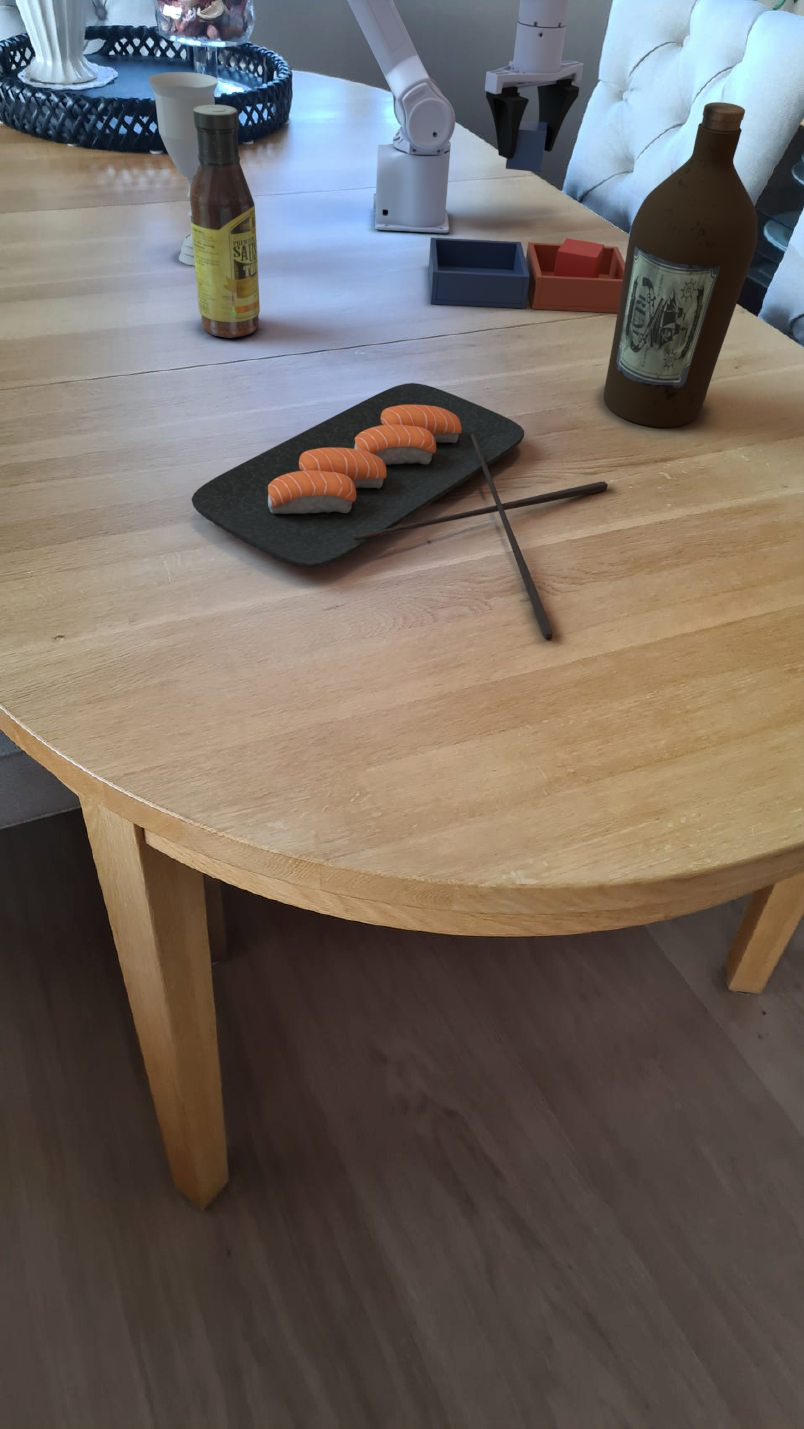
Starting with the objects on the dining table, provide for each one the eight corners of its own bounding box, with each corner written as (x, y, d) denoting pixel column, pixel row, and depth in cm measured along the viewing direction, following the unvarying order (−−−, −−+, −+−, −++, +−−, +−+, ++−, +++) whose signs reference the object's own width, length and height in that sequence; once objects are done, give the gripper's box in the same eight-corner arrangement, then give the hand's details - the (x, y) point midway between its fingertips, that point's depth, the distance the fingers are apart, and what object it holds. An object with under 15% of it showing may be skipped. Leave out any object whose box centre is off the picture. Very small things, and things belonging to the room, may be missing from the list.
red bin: (532, 309, 108) (537, 277, 106) (523, 273, 116) (528, 242, 113) (626, 313, 108) (633, 282, 106) (612, 277, 116) (618, 246, 114)
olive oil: (618, 369, 98) (681, 83, 80) (720, 398, 95) (808, 105, 77) (579, 411, 91) (638, 108, 74) (687, 443, 88) (775, 134, 70)
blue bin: (430, 304, 108) (432, 272, 105) (428, 268, 115) (430, 237, 113) (525, 308, 108) (529, 276, 106) (517, 272, 116) (521, 242, 113)
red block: (551, 291, 111) (557, 250, 107) (559, 278, 114) (566, 237, 111) (589, 298, 110) (597, 257, 107) (597, 284, 113) (604, 244, 110)
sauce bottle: (250, 344, 98) (235, 122, 84) (191, 336, 99) (167, 115, 85) (269, 319, 103) (258, 104, 89) (213, 311, 103) (194, 97, 89)
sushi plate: (409, 395, 92) (411, 356, 89) (691, 516, 79) (703, 475, 77) (177, 518, 75) (171, 475, 73) (485, 696, 63) (492, 652, 60)
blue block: (505, 169, 122) (510, 128, 119) (507, 158, 125) (511, 119, 122) (540, 172, 121) (546, 132, 118) (541, 162, 125) (547, 122, 121)
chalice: (237, 250, 116) (224, 75, 104) (224, 271, 111) (209, 90, 99) (177, 245, 117) (157, 70, 104) (162, 265, 112) (139, 85, 99)
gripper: (561, 12, 118) (544, 137, 128) (473, 21, 111) (462, 152, 121) (603, 23, 114) (582, 151, 124) (514, 33, 108) (499, 167, 117)
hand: (525, 153), depth 122 cm, fingers closed on blue block, 6 cm apart
